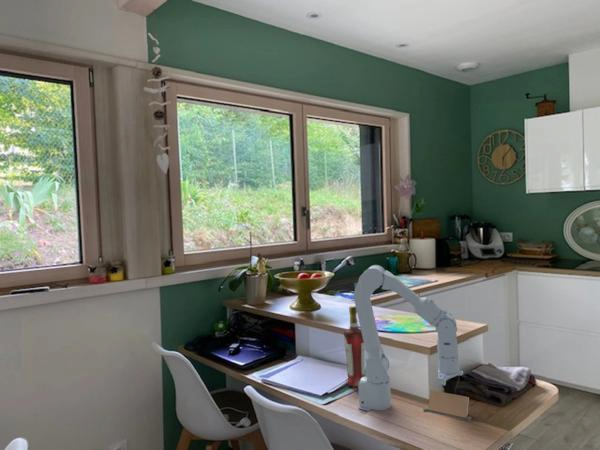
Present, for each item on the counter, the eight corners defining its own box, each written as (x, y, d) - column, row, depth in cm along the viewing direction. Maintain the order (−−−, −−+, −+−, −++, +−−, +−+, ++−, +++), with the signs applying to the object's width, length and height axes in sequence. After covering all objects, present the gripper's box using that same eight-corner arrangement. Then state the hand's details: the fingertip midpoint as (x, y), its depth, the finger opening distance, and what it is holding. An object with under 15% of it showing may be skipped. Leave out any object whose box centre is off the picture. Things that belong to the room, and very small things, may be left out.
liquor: (344, 382, 161) (340, 305, 161) (364, 380, 162) (360, 304, 161) (348, 390, 154) (344, 309, 154) (369, 388, 155) (365, 308, 154)
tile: (428, 412, 133) (427, 411, 132) (431, 390, 135) (430, 389, 135) (467, 420, 126) (466, 420, 126) (469, 397, 129) (468, 397, 128)
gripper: (454, 364, 124) (457, 413, 124) (468, 350, 136) (470, 394, 136) (429, 361, 128) (432, 408, 128) (445, 347, 140) (447, 390, 140)
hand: (450, 400), depth 132 cm, fingers closed, pressing on tile
